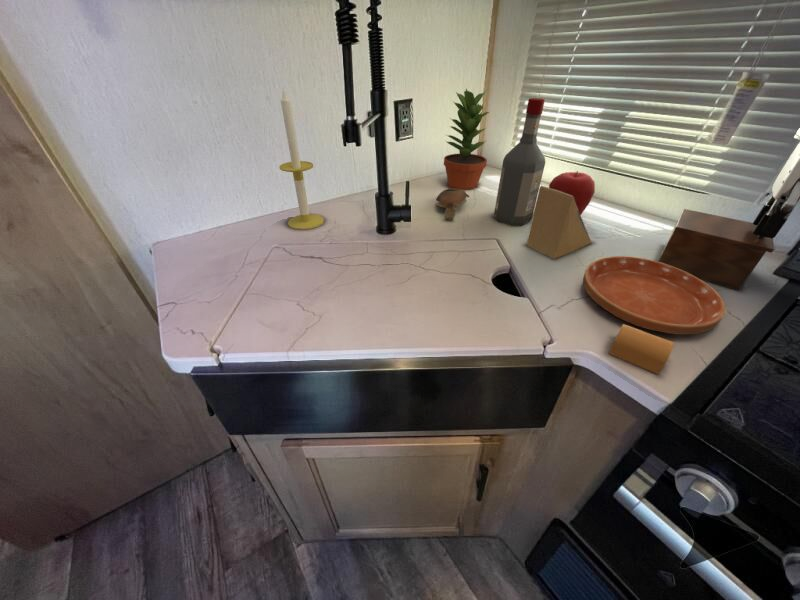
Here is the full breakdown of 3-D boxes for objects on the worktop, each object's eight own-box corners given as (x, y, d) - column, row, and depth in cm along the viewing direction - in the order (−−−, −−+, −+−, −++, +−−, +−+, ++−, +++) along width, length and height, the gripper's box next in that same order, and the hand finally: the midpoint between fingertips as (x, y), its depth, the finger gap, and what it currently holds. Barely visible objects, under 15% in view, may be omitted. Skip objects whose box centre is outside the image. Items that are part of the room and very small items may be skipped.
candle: (284, 229, 94) (254, 90, 75) (292, 215, 102) (267, 85, 83) (321, 229, 94) (300, 89, 75) (326, 214, 102) (309, 85, 83)
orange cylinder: (662, 358, 56) (676, 337, 53) (658, 374, 53) (671, 353, 50) (615, 339, 59) (625, 319, 57) (608, 353, 57) (618, 332, 54)
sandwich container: (593, 242, 88) (615, 183, 79) (554, 259, 81) (573, 196, 72) (564, 230, 94) (581, 173, 85) (525, 245, 87) (540, 185, 78)
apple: (562, 207, 107) (575, 162, 99) (594, 221, 99) (611, 173, 91) (532, 214, 103) (543, 167, 95) (563, 229, 94) (578, 179, 86)
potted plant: (484, 179, 129) (498, 84, 111) (481, 193, 117) (495, 89, 99) (445, 176, 132) (451, 83, 114) (437, 189, 120) (444, 88, 102)
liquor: (534, 218, 100) (564, 99, 82) (518, 228, 95) (546, 102, 77) (506, 210, 105) (528, 95, 87) (489, 218, 100) (509, 99, 82)
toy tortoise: (433, 222, 100) (468, 218, 97) (430, 205, 97) (466, 200, 95) (440, 199, 116) (471, 195, 113) (438, 183, 113) (469, 179, 110)
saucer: (749, 334, 60) (762, 317, 58) (629, 348, 58) (638, 331, 55) (652, 266, 79) (660, 252, 76) (558, 275, 76) (563, 260, 74)
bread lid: (769, 230, 73) (786, 206, 70) (771, 253, 65) (790, 227, 62) (682, 211, 81) (693, 189, 78) (674, 230, 73) (686, 206, 70)
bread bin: (740, 265, 79) (764, 229, 74) (738, 290, 71) (766, 251, 66) (664, 246, 87) (681, 212, 81) (655, 266, 79) (674, 230, 73)
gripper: (872, 143, 51) (790, 252, 62) (852, 126, 62) (785, 222, 73) (803, 136, 55) (737, 240, 66) (795, 121, 66) (739, 213, 77)
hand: (763, 229), depth 69 cm, fingers closed on bread lid, 5 cm apart
